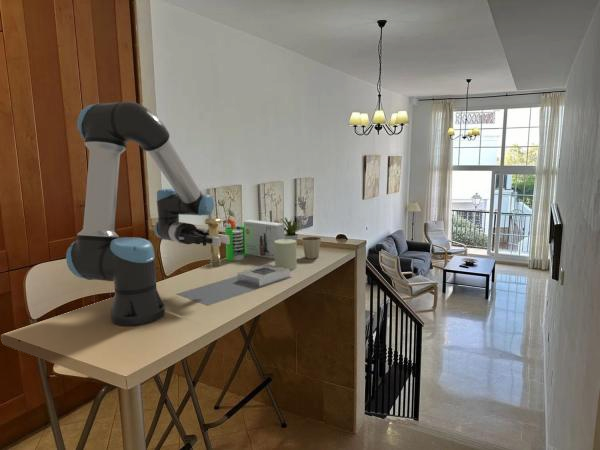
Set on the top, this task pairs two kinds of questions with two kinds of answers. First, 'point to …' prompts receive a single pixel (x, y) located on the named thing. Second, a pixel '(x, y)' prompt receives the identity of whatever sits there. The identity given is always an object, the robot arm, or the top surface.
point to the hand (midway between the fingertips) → (224, 240)
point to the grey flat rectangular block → (263, 275)
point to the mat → (220, 291)
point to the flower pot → (311, 246)
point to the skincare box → (262, 237)
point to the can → (285, 253)
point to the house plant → (291, 229)
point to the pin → (213, 248)
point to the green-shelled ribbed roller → (235, 241)
